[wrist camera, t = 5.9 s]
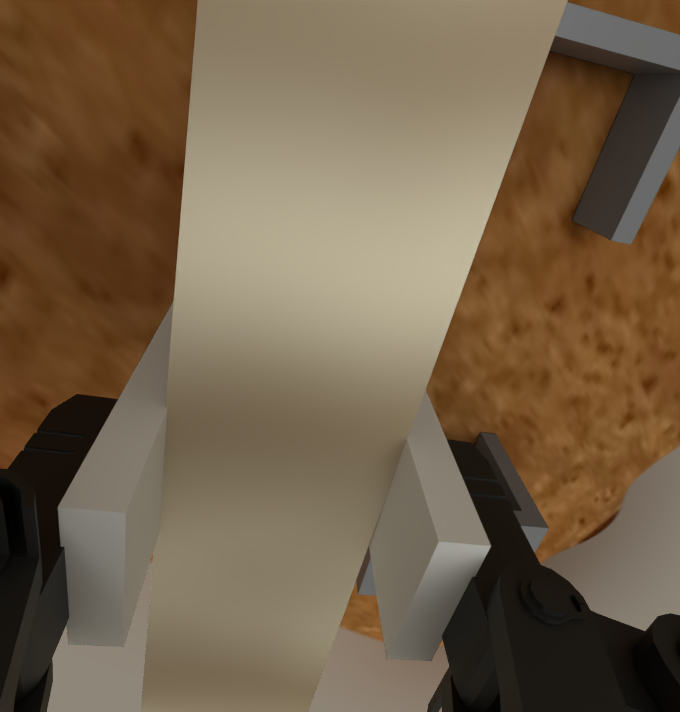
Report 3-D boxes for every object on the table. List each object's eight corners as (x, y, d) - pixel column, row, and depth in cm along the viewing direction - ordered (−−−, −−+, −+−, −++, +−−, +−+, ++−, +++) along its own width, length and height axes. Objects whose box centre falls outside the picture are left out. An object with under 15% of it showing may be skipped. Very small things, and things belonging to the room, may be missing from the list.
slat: (300, 565, 17) (301, 730, 13) (181, 554, 16) (139, 725, 12) (485, -98, 9) (670, -279, 5) (267, -175, 8) (237, -477, 4)
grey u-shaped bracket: (430, 191, 23) (451, 207, 20) (484, 2, 20) (519, -12, 17) (589, 224, 25) (631, 244, 22) (666, 53, 21) (728, 49, 18)
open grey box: (345, 490, 32) (357, 594, 26) (365, 418, 30) (385, 514, 23) (464, 502, 34) (505, 603, 27) (495, 434, 31) (548, 528, 25)
